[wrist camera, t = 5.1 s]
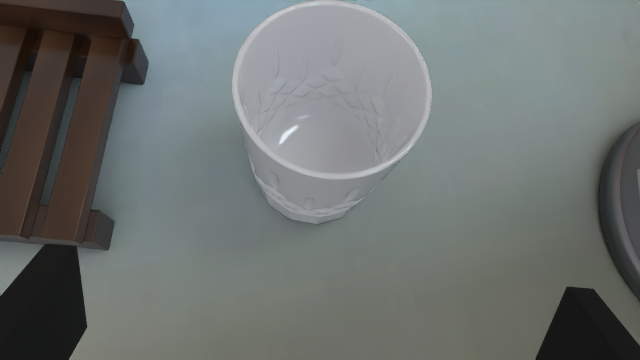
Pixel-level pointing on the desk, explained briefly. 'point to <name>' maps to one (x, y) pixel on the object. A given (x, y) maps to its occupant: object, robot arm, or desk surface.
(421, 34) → the desk surface
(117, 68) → the slatted wooden rack
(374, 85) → the white cup
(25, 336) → the robot arm
